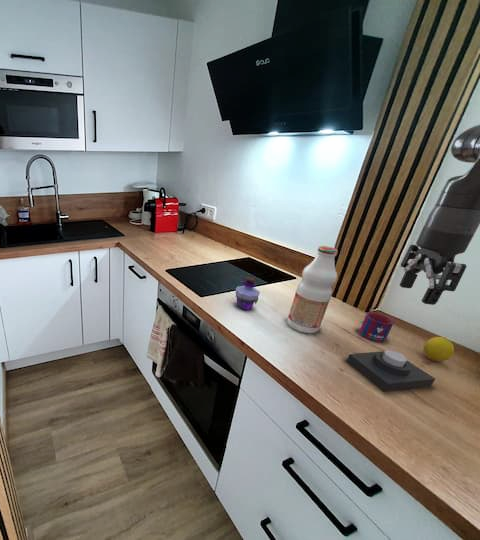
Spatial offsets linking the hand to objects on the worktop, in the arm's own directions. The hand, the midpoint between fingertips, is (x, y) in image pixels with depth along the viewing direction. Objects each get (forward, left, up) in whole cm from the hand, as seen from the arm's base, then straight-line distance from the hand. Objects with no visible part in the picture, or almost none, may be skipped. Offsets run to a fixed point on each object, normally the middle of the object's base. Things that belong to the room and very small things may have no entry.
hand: (415, 294), depth 67 cm
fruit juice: (+13, -19, -25) cm, 34 cm away
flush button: (-3, -1, -20) cm, 21 cm away
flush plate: (-3, -1, -24) cm, 25 cm away
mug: (-8, -22, -25) cm, 34 cm away
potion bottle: (+31, -26, -25) cm, 48 cm away
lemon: (-19, -12, -25) cm, 33 cm away
